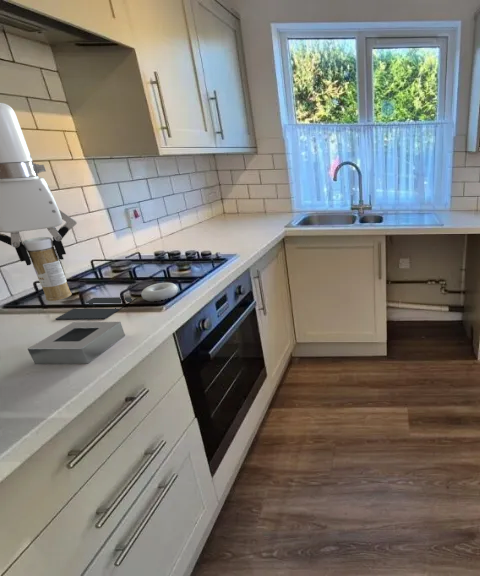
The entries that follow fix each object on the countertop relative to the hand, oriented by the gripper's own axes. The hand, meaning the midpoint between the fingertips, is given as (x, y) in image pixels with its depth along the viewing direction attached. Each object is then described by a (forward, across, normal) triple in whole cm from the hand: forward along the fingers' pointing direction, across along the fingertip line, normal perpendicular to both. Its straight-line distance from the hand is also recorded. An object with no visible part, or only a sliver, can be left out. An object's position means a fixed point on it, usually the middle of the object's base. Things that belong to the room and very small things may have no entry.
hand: (45, 260), depth 77 cm
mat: (+22, -7, -24) cm, 34 cm away
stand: (+22, 0, +1) cm, 22 cm away
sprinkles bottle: (+9, 0, 0) cm, 9 cm away
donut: (+22, -22, -20) cm, 37 cm away
